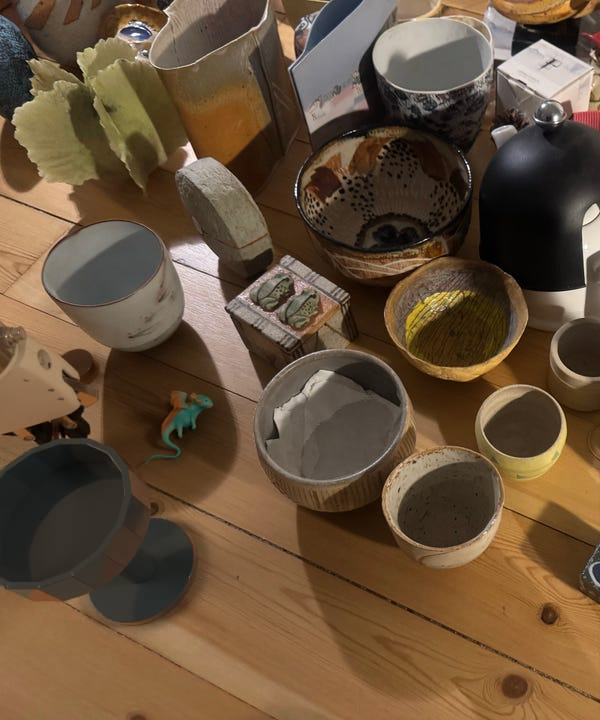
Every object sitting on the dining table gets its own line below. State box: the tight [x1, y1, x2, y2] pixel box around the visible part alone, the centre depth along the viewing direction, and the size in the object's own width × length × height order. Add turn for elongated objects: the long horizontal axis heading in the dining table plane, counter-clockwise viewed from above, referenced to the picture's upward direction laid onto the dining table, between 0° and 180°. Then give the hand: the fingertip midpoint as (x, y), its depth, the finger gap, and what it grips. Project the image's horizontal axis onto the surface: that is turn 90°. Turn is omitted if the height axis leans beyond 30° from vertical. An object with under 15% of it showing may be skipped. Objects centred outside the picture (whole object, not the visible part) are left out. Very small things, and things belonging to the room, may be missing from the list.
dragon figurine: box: [145, 390, 214, 464], centre depth 83 cm, size 6×7×8 cm
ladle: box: [49, 348, 101, 442], centre depth 83 cm, size 18×5×7 cm, turn 19°
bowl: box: [0, 437, 199, 626], centre depth 67 cm, size 13×13×19 cm
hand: (71, 439), depth 80 cm, fingers closed
